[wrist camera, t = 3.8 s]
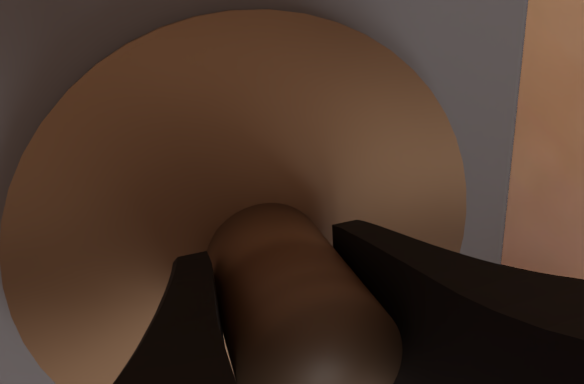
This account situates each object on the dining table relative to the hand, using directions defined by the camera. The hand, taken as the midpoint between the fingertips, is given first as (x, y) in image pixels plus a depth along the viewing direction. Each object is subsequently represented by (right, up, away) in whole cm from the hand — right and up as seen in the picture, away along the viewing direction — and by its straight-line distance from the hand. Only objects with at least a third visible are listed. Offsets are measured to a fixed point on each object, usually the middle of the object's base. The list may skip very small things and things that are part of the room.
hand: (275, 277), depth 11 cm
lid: (0, +1, +1) cm, 2 cm away
